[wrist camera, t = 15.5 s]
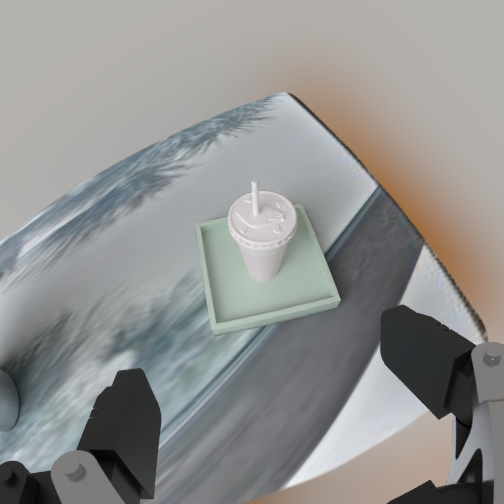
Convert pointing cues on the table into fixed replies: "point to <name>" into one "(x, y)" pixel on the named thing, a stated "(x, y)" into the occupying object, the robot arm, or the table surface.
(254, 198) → the smoothie
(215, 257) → the tray
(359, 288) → the table surface
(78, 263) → the table surface
